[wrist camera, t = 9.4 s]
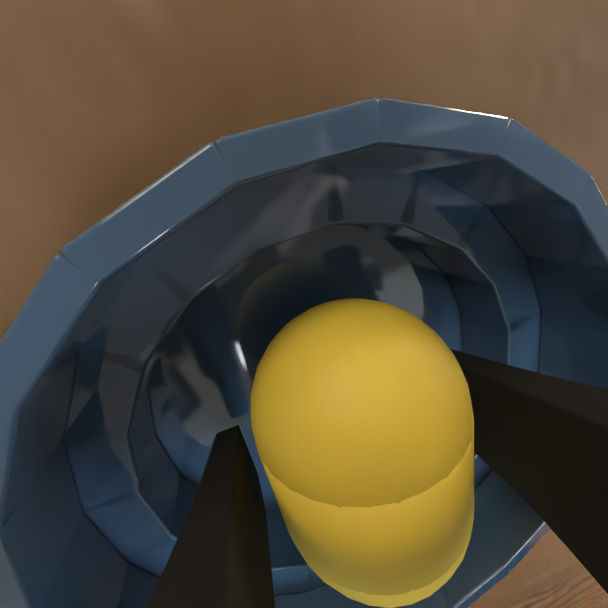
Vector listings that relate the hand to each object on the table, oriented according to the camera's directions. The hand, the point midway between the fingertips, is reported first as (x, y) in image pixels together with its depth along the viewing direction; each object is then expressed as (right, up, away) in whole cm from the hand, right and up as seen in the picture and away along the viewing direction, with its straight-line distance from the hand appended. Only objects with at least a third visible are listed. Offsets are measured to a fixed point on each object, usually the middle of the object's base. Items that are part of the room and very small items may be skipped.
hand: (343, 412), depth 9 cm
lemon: (0, 0, -1) cm, 1 cm away
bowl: (-1, +1, +2) cm, 2 cm away
